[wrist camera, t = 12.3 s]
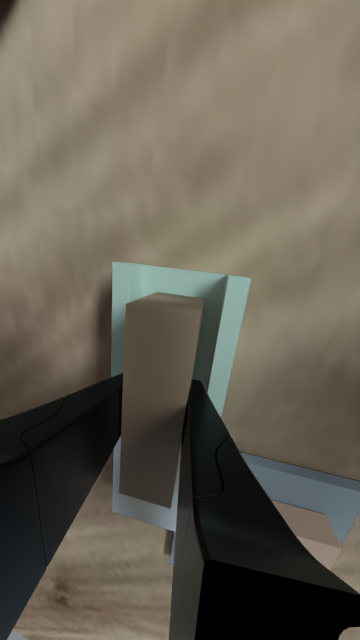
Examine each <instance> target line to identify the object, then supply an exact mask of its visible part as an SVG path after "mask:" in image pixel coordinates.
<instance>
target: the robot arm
mask: <svg viewBox="0 0 360 640" xmlns="http://www.w3.org/2000/svg"><path fill="white" fill-rule="evenodd" d="M122 396H123V373H121V374H119V375H116V376H114V377H111V378H109V379H106V380H104V381H102V382H99V383H97V384H94V385H92V386H89V387H87V388H84V389H82V390H79V391H77V392H74V393H72V394H70V395H67V396H65V398H64V397H62V398H60V399H57V400H55V401H52V402H50V403H47V404H45V405H42V406H39V407H37V408H34V409H31V410H28V411H26V412H23V413H20V414H17V415H14V416H11V417H8V418H5V419H3V420H0V640H7V638H8V637H9V635H10V633H11V631H12V629H13V628H14V626H15V624H16V622H17V620H18V619H19V617H20V615H21V613H22V612H23V610H24V608H25V606H26V604H27V603H28V601H29V599H30V597H31V595H32V594H33V592H34V590H35V588H36V587H37V585H38V583H39V581H40V579H41V578H42V576H43V574H44V572H45V571H46V567H47V566H48V565H49V563H50V561H51V560H52V558H53V556H54V554H55V552H56V551H57V549H58V547H59V545H60V543H61V542H62V540H63V538H64V536H65V535H66V533H67V531H68V529H69V527H70V526H71V524H72V522H73V520H74V519H75V517H76V515H77V513H78V511H79V510H80V508H81V506H82V504H83V502H84V501H85V499H86V497H87V495H88V494H89V492H90V490H91V488H92V486H93V485H94V483H95V481H96V479H97V478H98V476H99V474H100V472H101V470H102V469H103V467H104V465H105V463H106V462H107V460H108V458H109V456H110V454H111V453H112V451H113V449H114V447H115V445H116V444H117V442H118V440H119V438H120V437H121V423H122ZM349 627H360V594H359V593H358V592H357V591H356V590H354V589H353V588H352V587H350V586H349V585H348V584H347V583H345V582H344V581H343V580H341V579H340V578H339V577H337V576H336V575H335V574H334V573H332V572H331V571H330V570H328V569H327V568H326V567H325V566H324V565H322V564H321V563H320V562H319V561H318V560H317V559H316V558H315V557H314V556H313V555H312V554H311V553H310V552H309V551H308V550H307V549H306V548H305V547H304V545H303V544H302V543H301V542H300V540H299V539H298V538H297V537H296V535H295V534H294V533H293V531H292V530H291V528H290V527H289V526H288V524H287V523H286V521H285V520H284V518H283V517H282V515H281V514H280V512H279V511H278V510H277V508H276V507H275V505H274V504H273V502H272V501H271V499H270V498H269V496H268V495H267V493H266V492H265V490H264V489H263V488H262V486H261V485H260V483H259V482H258V480H257V479H256V477H255V476H254V474H253V473H252V471H251V470H250V468H249V467H248V465H247V463H246V462H245V460H244V459H243V457H242V455H241V454H240V452H239V450H238V448H237V447H236V445H235V443H234V441H233V439H232V438H231V436H230V434H229V432H228V430H227V428H226V427H225V425H224V423H223V421H222V419H221V417H220V416H219V414H218V412H217V410H216V408H215V406H214V405H213V403H212V401H211V399H210V397H209V395H208V393H207V392H206V390H205V388H204V386H203V384H202V382H201V381H200V380H195V379H192V381H191V386H190V390H189V395H188V400H187V407H186V413H185V420H184V427H183V433H182V441H181V457H180V473H179V488H178V504H177V520H176V535H175V551H174V567H173V582H172V598H171V616H170V629H169V640H338V639H339V635H340V634H341V633H342V632H343V630H345V629H347V628H349Z"/></svg>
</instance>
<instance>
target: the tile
mask: <svg viewBox="0 0 360 640" xmlns="http://www.w3.org/2000/svg"><path fill="white" fill-rule="evenodd" d="M271 501H272V502H273V504H274V505H275V507H276V508H277V510H278V511H279V512H280V514H281V515H282V517H283V518H284V520H285V521H286V523H287V524H288V526H289V527H290V528H291V530H292V531H293V533H294V534H295V535H296V537H297V538H298V539H299V540H300V542H301V543H302V544H303V545H304V547H305V548H306V549H307V550H308V551H309V552H310V553H311V554H312V555H313V556H314V557H315V558H316V559H317V560H318V561H319V562H320V563H321V564H322V565H324V566H325V567H326V568H327V569H328V570H330V569H331V567H332V566H333V564H334V562H335V560H336V559H337V557H338V555H339V553H340V552H341V550H342V548H341V546H340V544H339V542H338V539H337V537H336V535H335V533H334V531H333V529H332V526H331V524H330V522H329V520H328V518H327V515H324V514H320V513H317V512H313V511H310V510H306V509H302V508H299V507H295V506H291V505H288V504H284V503H281V502H277V501H273V500H271Z"/></svg>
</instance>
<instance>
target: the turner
mask: <svg viewBox="0 0 360 640" xmlns="http://www.w3.org/2000/svg"><path fill="white" fill-rule="evenodd" d="M204 302H205V299H204V298H197V297H190V296H183V295H176V294H169V293H162V292H156V293H153V294H150V295H148V296H145V297H142V298H140V299H137V300H135V301H132V302H129V303H127V304H126V313H125V341H124V368H123V396H122V423H121V437H120V438H119V440H118V442H117V444H116V445H115V447H114V455H113V498H112V512H115V513H118V514H121V515H124V516H127V517H131V518H134V519H137V520H140V521H143V522H146V523H149V524H152V525H155V526H159V527H162V528H165V529H168V530H171V531H174V532H176V520H177V504H178V488H179V473H180V457H181V441H182V433H183V427H184V420H185V413H186V407H187V400H188V395H189V390H190V386H191V381H192V379H193V374H194V367H195V361H196V354H197V348H198V341H199V335H200V328H201V322H202V315H203V309H204Z"/></svg>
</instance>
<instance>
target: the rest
mask: <svg viewBox="0 0 360 640" xmlns="http://www.w3.org/2000/svg"><path fill="white" fill-rule="evenodd" d="M250 282H251V278H246V277H242V276H233V275H225V274H217V273H209V272H201V271H192V270H184V269H176V268H168V267H160V266H151V265H143V264H134V263H123V262H113V273H112V339H111V377H114V376H116V375H119V374H121V373H123V368H124V341H125V313H126V304H127V303H129V302H132V301H135V300H137V299H140V298H142V297H145V296H148V295H150V294H153V293H156V292H162V293H169V294H176V295H183V296H190V297H197V298H204V299H205V302H204V309H203V315H202V322H201V328H200V335H199V341H198V348H197V354H196V361H195V367H194V374H193V379H195V380H200V381H201V382H202V384H203V386H204V388H205V390H206V392H207V393H208V395H209V397H210V399H211V401H212V403H213V405H214V406H215V408H216V410H217V412H218V414H219V416H220V417H221V416H222V412H223V407H224V402H225V398H226V393H227V389H228V384H229V379H230V375H231V370H232V365H233V361H234V356H235V351H236V347H237V342H238V337H239V333H240V328H241V324H242V319H243V314H244V310H245V305H246V300H247V296H248V291H249V286H250Z"/></svg>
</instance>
